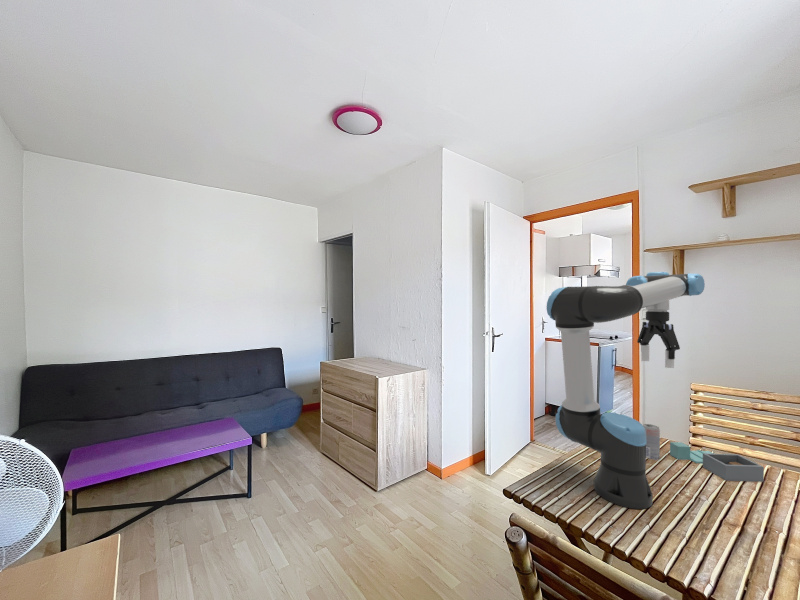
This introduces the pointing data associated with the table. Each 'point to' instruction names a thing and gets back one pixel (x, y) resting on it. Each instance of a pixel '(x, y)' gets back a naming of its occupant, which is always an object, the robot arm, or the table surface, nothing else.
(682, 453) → the lid
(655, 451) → the energy drink
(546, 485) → the table surface
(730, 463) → the walnut block
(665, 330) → the robot arm
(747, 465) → the tub
